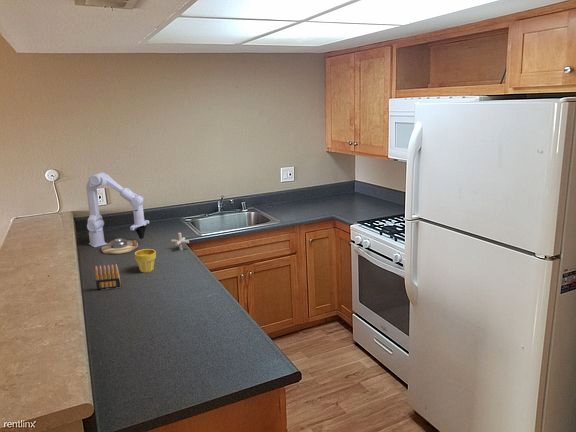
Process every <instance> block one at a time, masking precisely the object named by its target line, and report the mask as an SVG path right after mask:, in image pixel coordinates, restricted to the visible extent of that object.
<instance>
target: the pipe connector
mask: <svg viewBox="0 0 576 432" xmlns="http://www.w3.org/2000/svg"><path fill="white" fill-rule="evenodd" d="M177 237H178V239H171V243H173V244H174V243H175V244H174V245H175V246H176V247H177V246H178V247H179V248H178V249H179V251H183V250H184V249H183V248H184V247H183V244H189V243H190V240H188V239H186V237H184V236H183V237H182V232H178V233H177Z"/></svg>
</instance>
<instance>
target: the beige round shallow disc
mask: <svg viewBox="0 0 576 432" xmlns="http://www.w3.org/2000/svg"><path fill="white" fill-rule="evenodd" d="M126 240H127V246H126V247H123V248H118V249H114V248H111V243H110V242H107V244H105V245H102V246H101V247H100V248H101V252H102V253H103V254H106V255H121V254H126V253H130V252H133V251H135V250H136V249H137V248H138V247H139V243H138V241H137V240H136V239H133V240H130V239H129V240H128V239H126Z"/></svg>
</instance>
